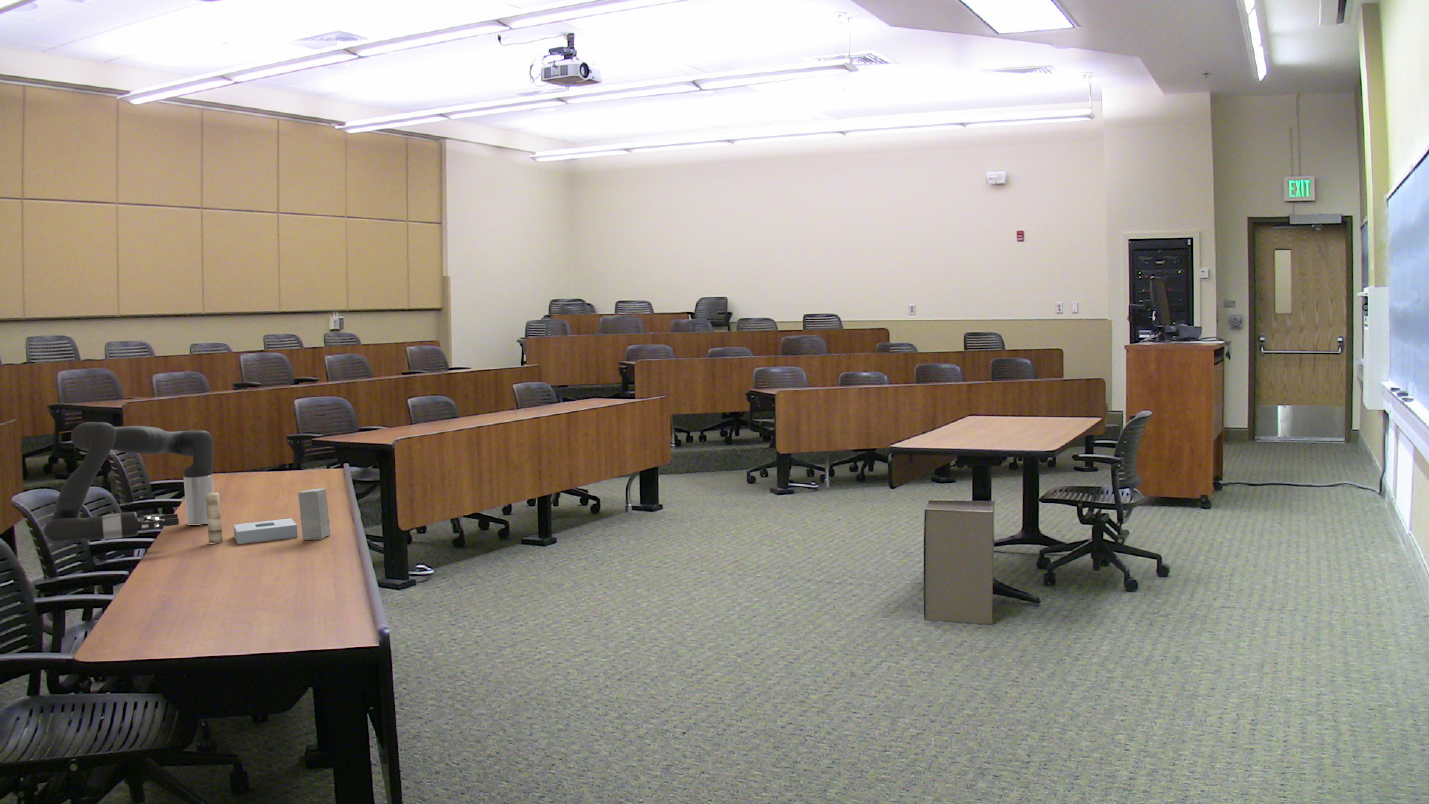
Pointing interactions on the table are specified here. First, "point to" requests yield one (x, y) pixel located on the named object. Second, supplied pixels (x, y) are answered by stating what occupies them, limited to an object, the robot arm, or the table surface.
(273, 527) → the seat board
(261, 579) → the table surface
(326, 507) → the skincare box
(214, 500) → the dowel
